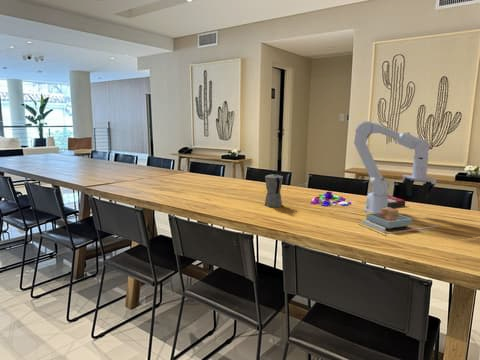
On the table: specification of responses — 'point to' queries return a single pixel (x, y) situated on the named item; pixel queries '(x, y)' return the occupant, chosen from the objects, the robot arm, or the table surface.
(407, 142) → the robot arm
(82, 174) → the table surface
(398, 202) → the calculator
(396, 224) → the light blue storage bin
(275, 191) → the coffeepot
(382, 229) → the track
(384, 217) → the block
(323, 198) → the colorful gemstone pile
